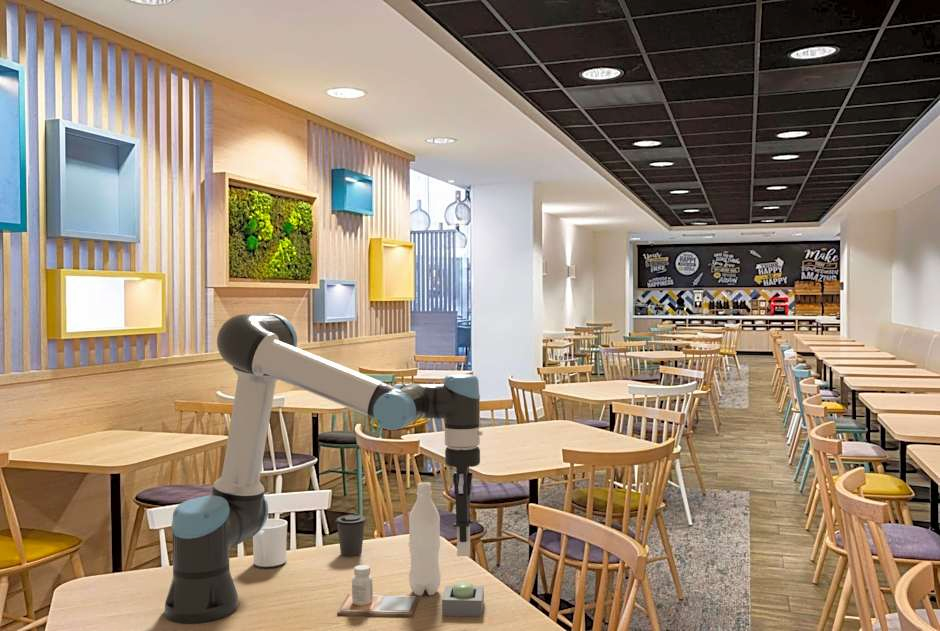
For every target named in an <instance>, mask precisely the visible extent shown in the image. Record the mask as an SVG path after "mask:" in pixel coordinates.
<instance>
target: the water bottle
mask: <svg viewBox="0 0 940 631" xmlns="http://www.w3.org/2000/svg"><path fill="white" fill-rule="evenodd" d="M431 487H432V483H431V482H427V481H421V482H418V483H417V490H416V491H417V492H416V495H417V497H416V501H415V503H414V505H413V507H412V510H411V511H410V514H409V517H408V523H409V524H408V525H409V527H408V529H409V530H408V532H409V533H408V534H409V536H408V537H409V538H408V540H409V541H408V548H409V552H410V569H409V573H408V577H409V578H408V581H409V582H408V583H409V587H410V589H411V591H412V592H413V593H414V594H415V596H418V597H422V596H423V595H424V592H425V591H426V593H427V594H428V596H432V595H435V594H436V593H437V591H438V589H439V588H440V586H441V571H440V567H439V566H440V565H439V553H440V547H441V541H440V540H441V536H440V535H441V534H440V533H441V531H440V530H441V529H440V524H441V523H440V522H441V516H440V514H439V510H438V508H437V507H436V505H435V503H434V501H433V499H432V498H433V497H432V494H433V492H432V488H431Z"/></svg>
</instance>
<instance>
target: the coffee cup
mask: <svg viewBox="0 0 940 631" xmlns="http://www.w3.org/2000/svg"><path fill="white" fill-rule="evenodd" d="M334 522H335V524H336V525H337V532H338V541H339V550H340V555H341V556H342V557H344V558H345V557H346V558H356V557H359V556H361V555H362V552H363V551H362V550H363V541H364V531H365V523H366V522H367V519H366V517H365V516H364V515H358V514H344V515H342V516H339V517H337V518H336V519H335V521H334Z"/></svg>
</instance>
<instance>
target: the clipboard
mask: <svg viewBox="0 0 940 631" xmlns="http://www.w3.org/2000/svg"><path fill="white" fill-rule="evenodd" d="M372 595H373V600H372V603H370V604H368V605H364V606H360V605H355V604H353V602H352V594H347V596H346V597H345V599H344V600H343V602H342V604H341V605H340V607H339V609H338V610H337V613H336V615H337V616H350V617H351V616H352V617H353V616H354V617H355V616H358V617H359V616H360V617H361V616H363V617H364V616H365V617H393V618H394V617H396V618H397V617H399V618H400V617H402V618H403V617H405V618H412V617H413V615H414V612H415V610H416V606H417V604H418V601H419V595H387V594H386V595H385V594H383V595H382V594H380V595H379V594H376V595H375V594H372Z"/></svg>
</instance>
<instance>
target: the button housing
mask: <svg viewBox="0 0 940 631" xmlns="http://www.w3.org/2000/svg"><path fill="white" fill-rule="evenodd" d="M484 588H485V587H484V586H476V585H475V586H474V585H473V598H454V597H453V585H445V587H444V591H443V595H442V598H441V616H442V617H475V616H480V617H479V618H481V617H483V609H484V603H485V602H484V600H485V599H484V597H485V596H484V595H485V589H484Z"/></svg>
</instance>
